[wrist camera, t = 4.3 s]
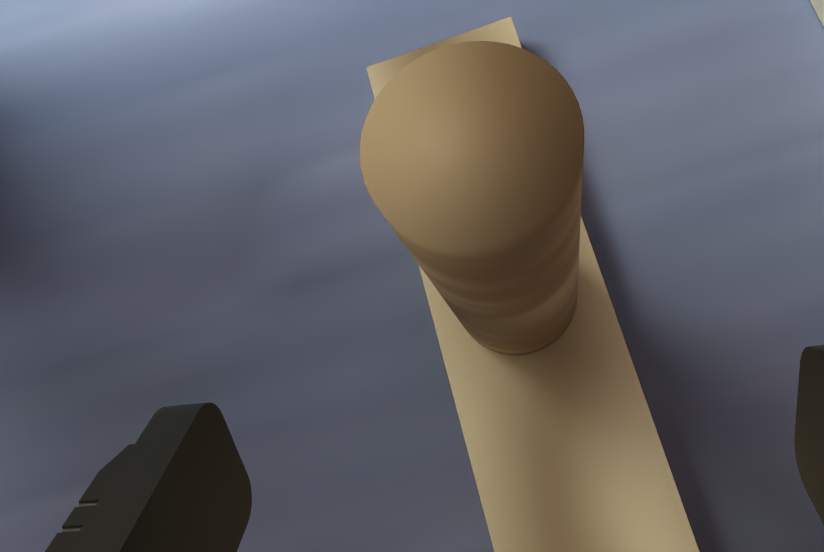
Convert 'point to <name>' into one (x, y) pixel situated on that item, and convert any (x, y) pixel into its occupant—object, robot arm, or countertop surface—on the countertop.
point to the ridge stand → (819, 9)
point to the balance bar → (519, 295)
